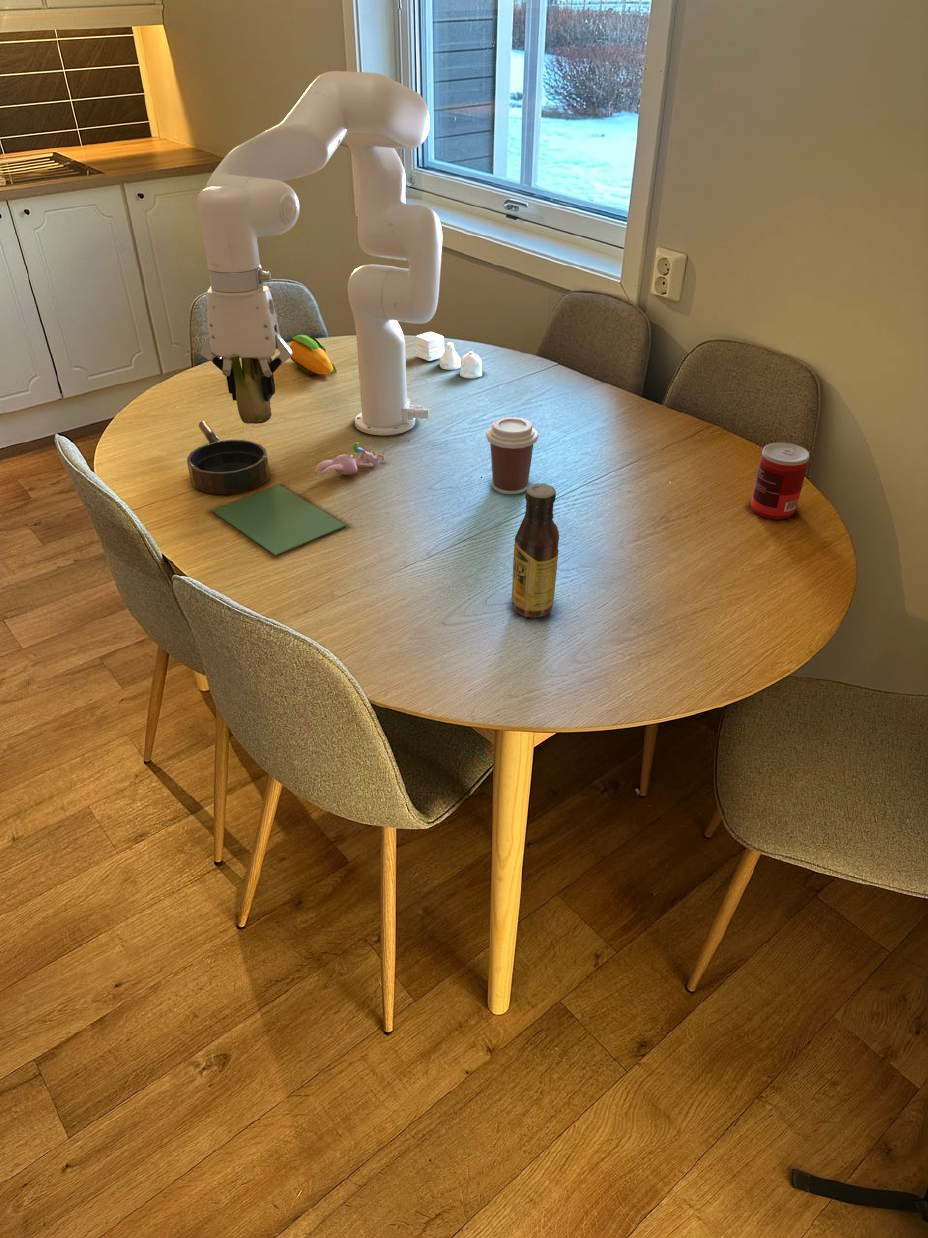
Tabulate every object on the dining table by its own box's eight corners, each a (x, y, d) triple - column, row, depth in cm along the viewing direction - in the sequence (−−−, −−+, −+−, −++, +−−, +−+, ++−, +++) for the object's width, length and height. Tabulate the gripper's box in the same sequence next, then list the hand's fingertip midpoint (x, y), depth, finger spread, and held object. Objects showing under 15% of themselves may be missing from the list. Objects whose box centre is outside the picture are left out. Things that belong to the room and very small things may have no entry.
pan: (276, 461, 168) (273, 440, 166) (260, 496, 157) (256, 474, 154) (203, 460, 169) (199, 438, 166) (181, 495, 157) (177, 472, 155)
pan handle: (223, 449, 166) (222, 441, 165) (214, 451, 166) (212, 443, 165) (207, 427, 175) (206, 418, 174) (198, 429, 174) (196, 420, 173)
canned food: (796, 502, 156) (810, 445, 149) (794, 523, 150) (809, 465, 143) (751, 495, 158) (764, 439, 151) (748, 516, 152) (761, 458, 145)
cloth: (345, 526, 148) (345, 525, 148) (275, 556, 141) (275, 554, 140) (280, 486, 160) (280, 485, 160) (212, 511, 152) (211, 510, 152)
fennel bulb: (242, 429, 140) (231, 355, 133) (234, 418, 143) (222, 346, 136) (277, 423, 142) (268, 349, 135) (269, 412, 145) (259, 340, 138)
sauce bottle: (508, 597, 131) (513, 477, 120) (549, 595, 132) (558, 475, 120) (514, 622, 126) (520, 500, 114) (557, 620, 126) (567, 498, 115)
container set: (415, 357, 216) (414, 335, 212) (431, 352, 219) (431, 330, 215) (470, 379, 204) (470, 356, 200) (486, 374, 207) (487, 351, 203)
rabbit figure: (368, 462, 171) (306, 475, 161) (370, 432, 168) (307, 444, 158) (389, 472, 168) (328, 486, 158) (392, 442, 165) (330, 455, 155)
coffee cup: (542, 480, 162) (546, 419, 155) (524, 501, 156) (527, 438, 149) (497, 471, 165) (498, 410, 158) (477, 491, 159) (478, 429, 152)
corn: (307, 324, 212) (344, 348, 198) (312, 355, 216) (348, 380, 203) (278, 332, 209) (314, 356, 195) (284, 363, 213) (320, 388, 200)
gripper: (297, 273, 132) (309, 390, 143) (187, 271, 133) (207, 388, 144) (287, 287, 126) (300, 408, 137) (171, 285, 127) (194, 405, 137)
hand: (252, 396), depth 140 cm, fingers closed on fennel bulb, 4 cm apart
